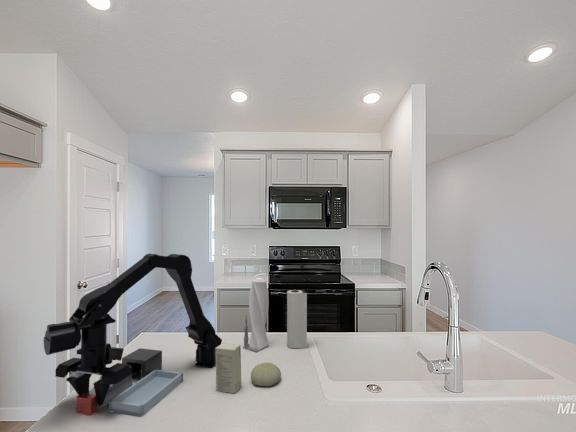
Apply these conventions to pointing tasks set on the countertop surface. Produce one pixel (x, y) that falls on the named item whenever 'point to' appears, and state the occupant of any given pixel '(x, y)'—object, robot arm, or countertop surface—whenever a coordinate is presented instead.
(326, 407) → the countertop surface
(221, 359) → the skincare box
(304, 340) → the paper towel roll
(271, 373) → the sea urchin shell
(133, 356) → the block
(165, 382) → the tray
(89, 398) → the pin
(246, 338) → the skyscraper
